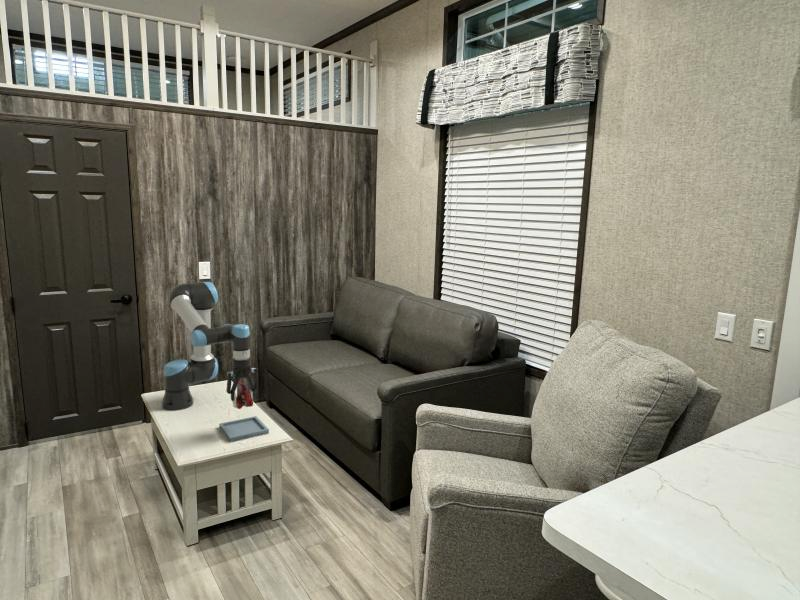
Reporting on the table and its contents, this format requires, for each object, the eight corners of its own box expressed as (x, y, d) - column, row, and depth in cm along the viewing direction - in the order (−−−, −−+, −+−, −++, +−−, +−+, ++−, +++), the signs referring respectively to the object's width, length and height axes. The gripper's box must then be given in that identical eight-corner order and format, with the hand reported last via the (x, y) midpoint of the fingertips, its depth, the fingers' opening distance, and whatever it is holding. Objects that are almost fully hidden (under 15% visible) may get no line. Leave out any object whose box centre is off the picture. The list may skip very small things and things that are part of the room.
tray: (219, 427, 255) (219, 423, 255) (256, 419, 265) (256, 416, 265) (230, 442, 241) (230, 437, 240) (268, 433, 251) (268, 429, 250)
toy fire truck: (240, 411, 244) (239, 390, 242) (231, 403, 254) (230, 382, 252) (255, 408, 248) (254, 387, 246) (245, 400, 258) (244, 379, 256)
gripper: (221, 363, 238) (223, 412, 242) (265, 357, 249) (266, 403, 253) (217, 359, 244) (219, 406, 248) (260, 353, 255) (261, 398, 259)
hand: (243, 405), depth 251 cm, fingers closed on toy fire truck, 7 cm apart
